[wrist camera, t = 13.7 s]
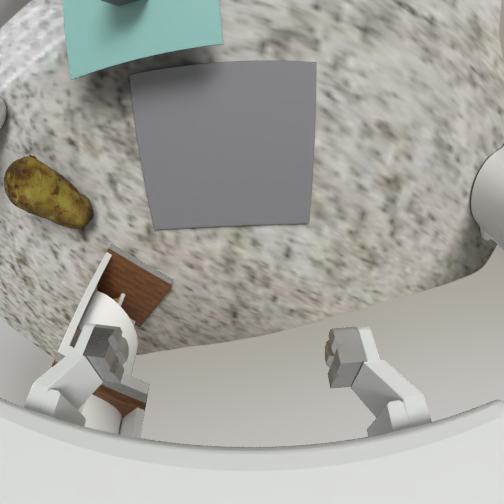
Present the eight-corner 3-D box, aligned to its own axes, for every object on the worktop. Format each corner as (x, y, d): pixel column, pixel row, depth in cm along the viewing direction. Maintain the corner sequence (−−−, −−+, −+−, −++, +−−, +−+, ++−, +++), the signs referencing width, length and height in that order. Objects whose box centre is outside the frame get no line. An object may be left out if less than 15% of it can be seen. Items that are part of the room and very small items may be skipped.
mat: (315, 62, 27) (316, 62, 27) (308, 220, 39) (309, 223, 38) (131, 74, 27) (129, 74, 27) (155, 227, 39) (154, 229, 38)
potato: (66, 230, 38) (41, 263, 32) (22, 159, 31) (-12, 184, 25) (105, 209, 37) (80, 243, 30) (59, 129, 30) (23, 149, 23)
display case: (142, 318, 49) (101, 520, 21) (88, 288, 45) (18, 489, 17) (172, 279, 44) (129, 530, 16) (111, 243, 40) (15, 491, 12)
